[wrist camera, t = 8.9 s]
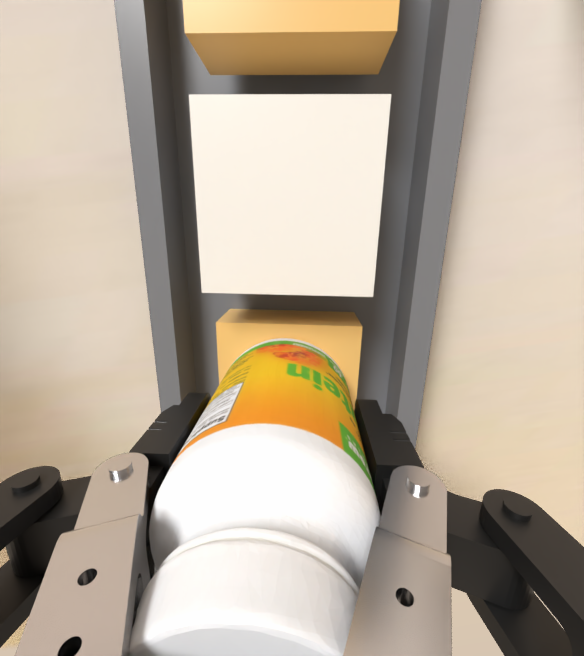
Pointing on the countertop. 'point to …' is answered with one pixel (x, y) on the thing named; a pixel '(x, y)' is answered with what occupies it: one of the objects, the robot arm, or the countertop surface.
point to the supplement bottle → (262, 516)
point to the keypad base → (396, 209)
